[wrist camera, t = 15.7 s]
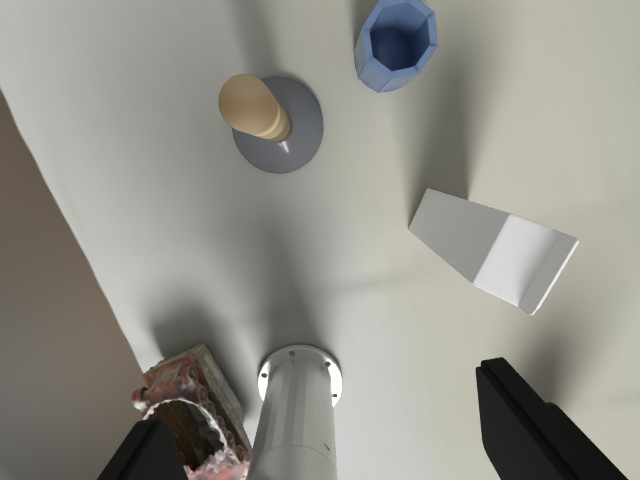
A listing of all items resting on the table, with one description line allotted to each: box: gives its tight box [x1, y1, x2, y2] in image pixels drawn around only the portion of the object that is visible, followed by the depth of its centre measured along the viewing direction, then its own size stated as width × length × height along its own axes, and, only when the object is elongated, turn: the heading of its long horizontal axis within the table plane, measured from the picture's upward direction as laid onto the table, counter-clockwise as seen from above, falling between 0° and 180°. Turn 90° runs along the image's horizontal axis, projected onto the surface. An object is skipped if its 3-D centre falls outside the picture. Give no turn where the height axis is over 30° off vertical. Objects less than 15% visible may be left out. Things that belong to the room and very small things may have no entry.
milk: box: [408, 188, 579, 315], centre depth 32 cm, size 6×6×22 cm
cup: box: [354, 0, 438, 93], centre depth 34 cm, size 7×7×7 cm
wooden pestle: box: [219, 74, 293, 142], centre depth 30 cm, size 4×4×18 cm
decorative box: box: [131, 343, 253, 480], centre depth 45 cm, size 13×20×10 cm, turn 17°
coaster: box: [232, 77, 323, 173], centre depth 39 cm, size 11×11×1 cm
